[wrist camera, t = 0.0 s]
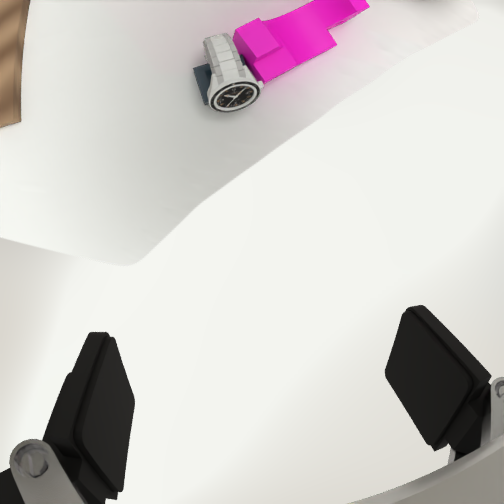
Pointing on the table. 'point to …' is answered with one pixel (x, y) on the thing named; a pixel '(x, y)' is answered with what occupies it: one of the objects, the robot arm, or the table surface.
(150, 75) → the table surface
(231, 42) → the watch
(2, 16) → the wooden lever switch board
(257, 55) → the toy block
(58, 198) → the table surface
